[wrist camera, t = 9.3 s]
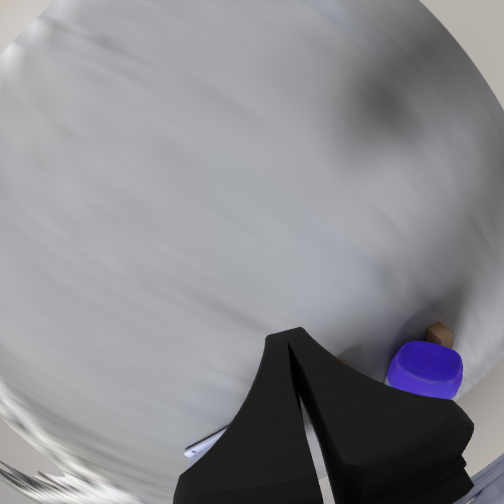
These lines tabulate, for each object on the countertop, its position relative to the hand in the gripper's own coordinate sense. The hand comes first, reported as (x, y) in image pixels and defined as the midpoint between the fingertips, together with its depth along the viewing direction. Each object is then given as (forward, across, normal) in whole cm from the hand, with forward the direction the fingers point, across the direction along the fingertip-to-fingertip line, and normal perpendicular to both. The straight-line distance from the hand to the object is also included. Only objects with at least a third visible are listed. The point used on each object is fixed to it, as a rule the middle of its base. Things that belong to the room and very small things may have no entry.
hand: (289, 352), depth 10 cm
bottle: (+6, -12, +10) cm, 17 cm away
